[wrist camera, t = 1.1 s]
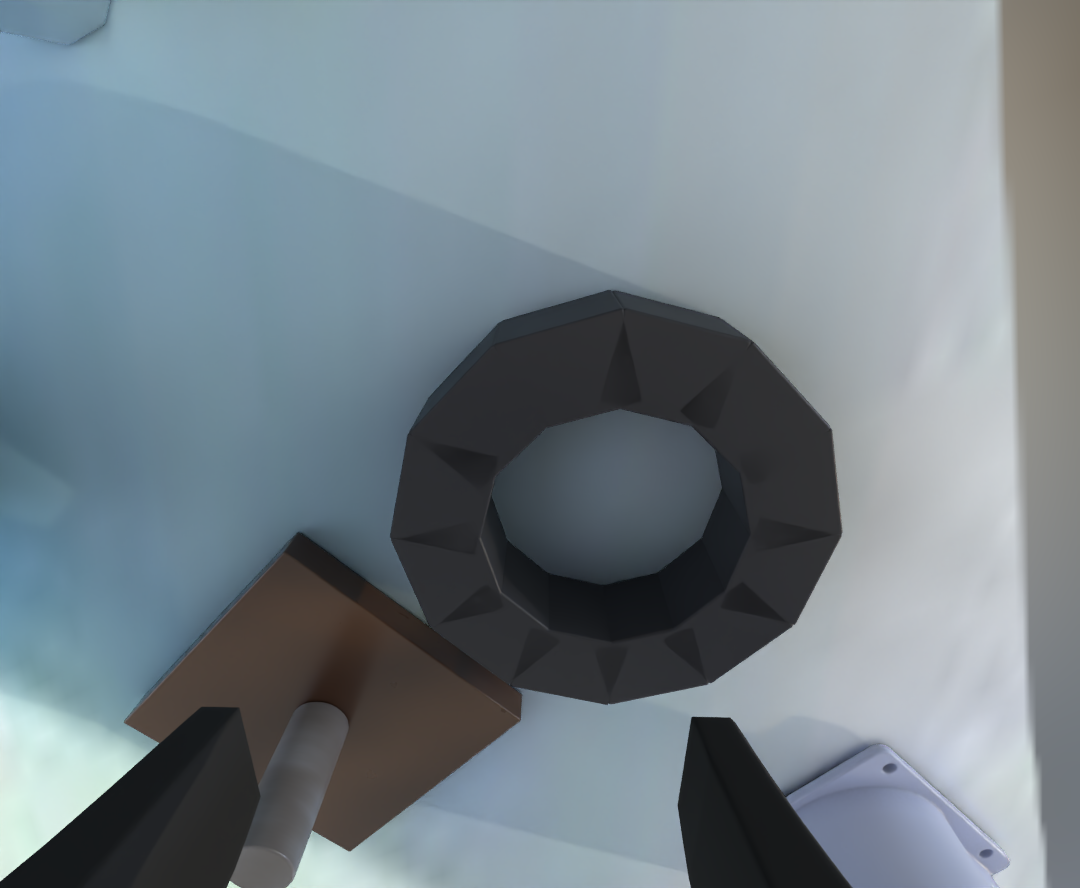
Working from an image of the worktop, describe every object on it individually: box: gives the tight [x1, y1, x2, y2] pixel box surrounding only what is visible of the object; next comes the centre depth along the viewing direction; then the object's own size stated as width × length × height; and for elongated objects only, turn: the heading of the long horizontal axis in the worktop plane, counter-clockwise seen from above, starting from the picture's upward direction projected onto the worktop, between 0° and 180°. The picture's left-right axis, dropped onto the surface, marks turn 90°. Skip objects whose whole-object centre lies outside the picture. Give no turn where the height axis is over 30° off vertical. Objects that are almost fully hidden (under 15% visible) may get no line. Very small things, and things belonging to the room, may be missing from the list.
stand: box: [124, 532, 522, 888], centre depth 19 cm, size 10×10×6 cm
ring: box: [390, 290, 842, 705], centre depth 17 cm, size 12×12×3 cm
